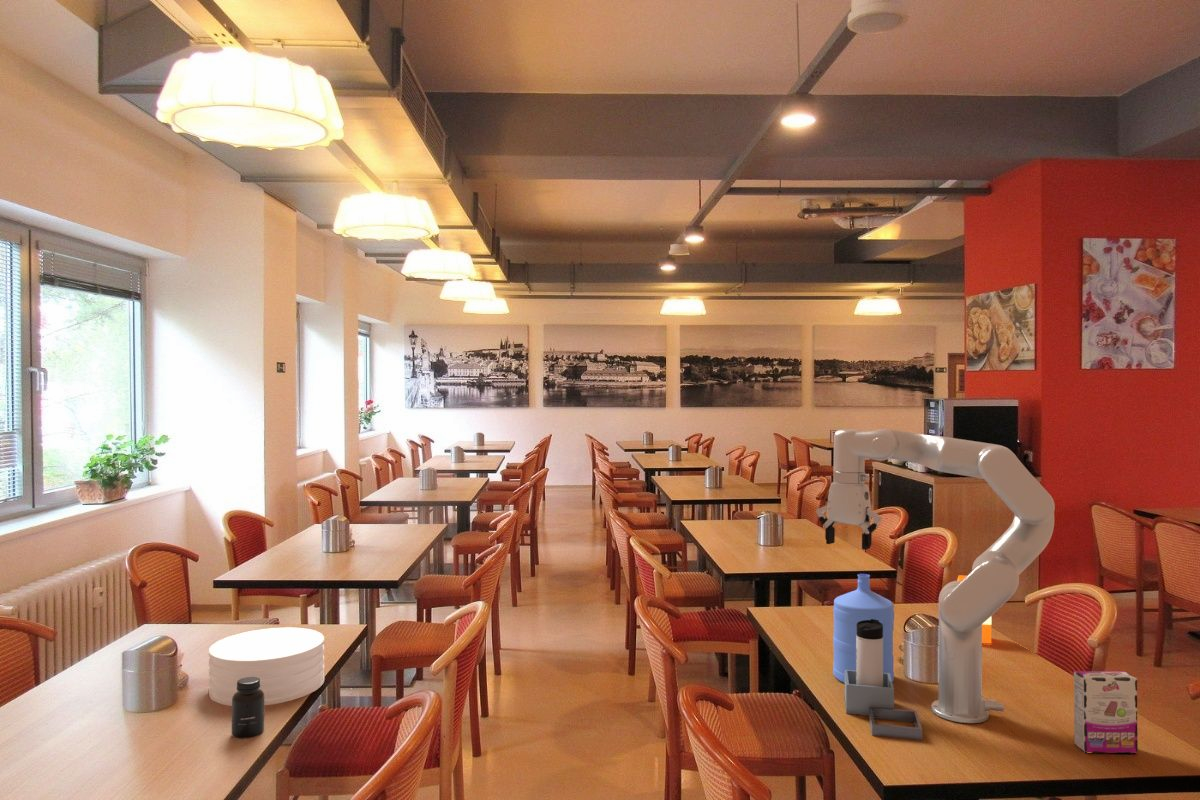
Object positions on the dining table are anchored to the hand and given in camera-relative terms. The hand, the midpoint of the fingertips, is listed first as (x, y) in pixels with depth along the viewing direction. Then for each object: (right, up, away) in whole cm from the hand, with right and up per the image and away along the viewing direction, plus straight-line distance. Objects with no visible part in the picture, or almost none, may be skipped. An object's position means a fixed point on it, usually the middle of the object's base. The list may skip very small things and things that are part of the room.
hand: (847, 546), depth 205 cm
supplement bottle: (-142, -39, -21) cm, 149 cm away
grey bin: (+3, -39, -6) cm, 39 cm away
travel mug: (+4, -38, -6) cm, 38 cm away
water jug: (+8, -38, +14) cm, 42 cm away
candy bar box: (+47, -39, -29) cm, 68 cm away
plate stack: (-150, -39, +9) cm, 155 cm away
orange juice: (+53, -38, +48) cm, 81 cm away
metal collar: (+5, -39, -18) cm, 43 cm away
